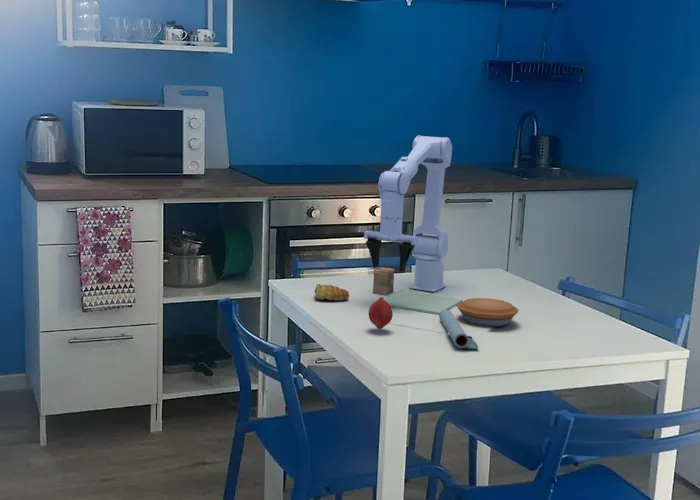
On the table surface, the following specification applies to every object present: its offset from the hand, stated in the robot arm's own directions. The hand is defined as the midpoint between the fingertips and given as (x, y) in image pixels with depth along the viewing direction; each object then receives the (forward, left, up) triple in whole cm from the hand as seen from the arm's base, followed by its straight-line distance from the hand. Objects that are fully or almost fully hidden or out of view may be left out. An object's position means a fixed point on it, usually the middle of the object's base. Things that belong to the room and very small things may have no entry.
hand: (388, 268), depth 233 cm
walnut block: (-13, -7, -10) cm, 18 cm away
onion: (+22, +8, -11) cm, 26 cm away
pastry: (+4, -13, -11) cm, 17 cm away
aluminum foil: (+14, +25, -11) cm, 31 cm away
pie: (-2, +27, -11) cm, 29 cm away
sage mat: (-9, +6, -10) cm, 15 cm away
